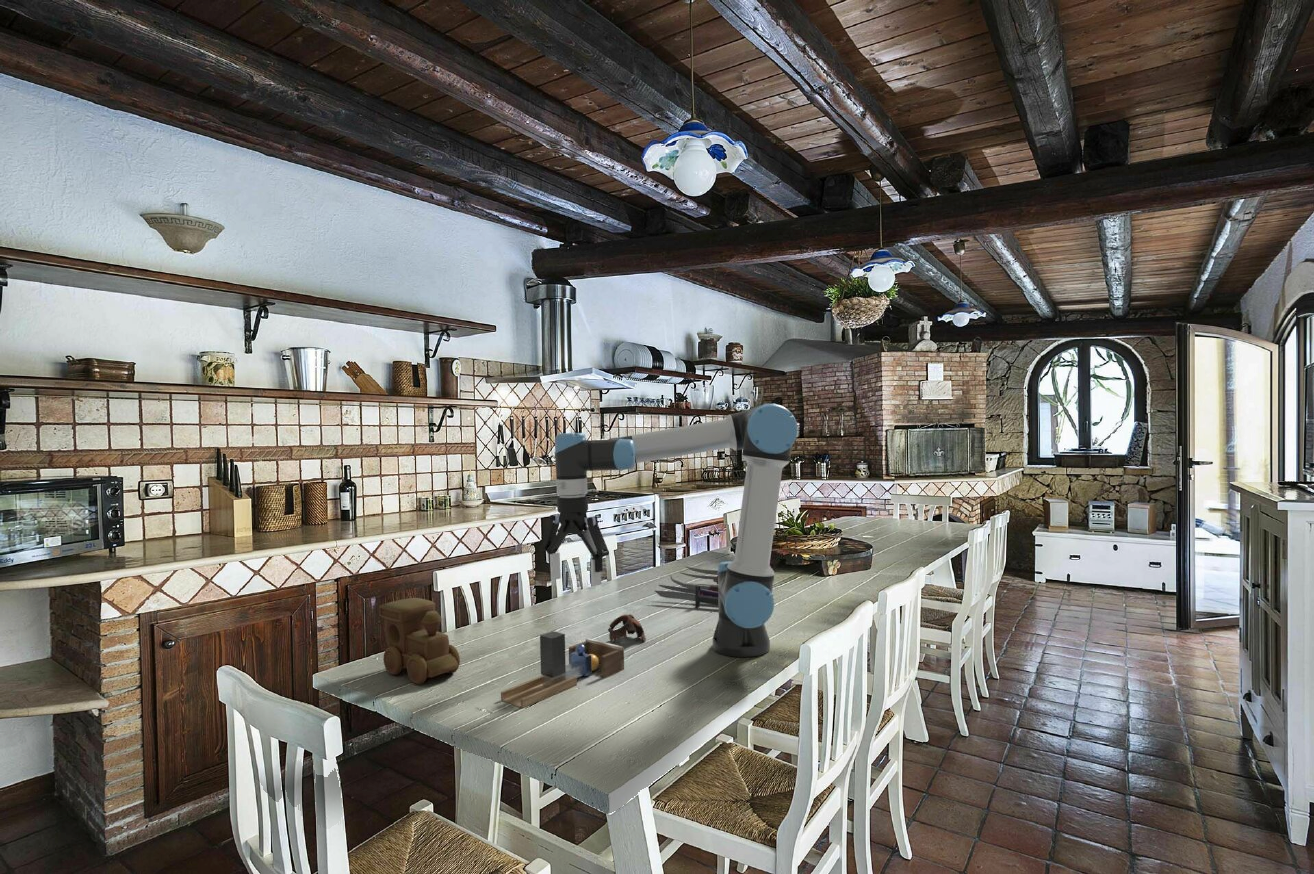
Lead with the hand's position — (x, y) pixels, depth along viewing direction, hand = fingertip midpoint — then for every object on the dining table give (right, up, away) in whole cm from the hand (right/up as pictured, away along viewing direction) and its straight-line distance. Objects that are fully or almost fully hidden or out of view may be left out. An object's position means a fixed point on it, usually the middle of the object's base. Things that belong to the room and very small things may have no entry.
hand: (575, 582), depth 169 cm
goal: (+5, -21, 0) cm, 22 cm away
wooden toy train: (-38, -23, 0) cm, 44 cm away
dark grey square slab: (-1, -22, -8) cm, 23 cm away
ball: (+4, -19, -1) cm, 20 cm away
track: (-6, -22, -14) cm, 27 cm away
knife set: (+39, -20, +70) cm, 83 cm away
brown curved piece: (+12, -21, +22) cm, 33 cm away
